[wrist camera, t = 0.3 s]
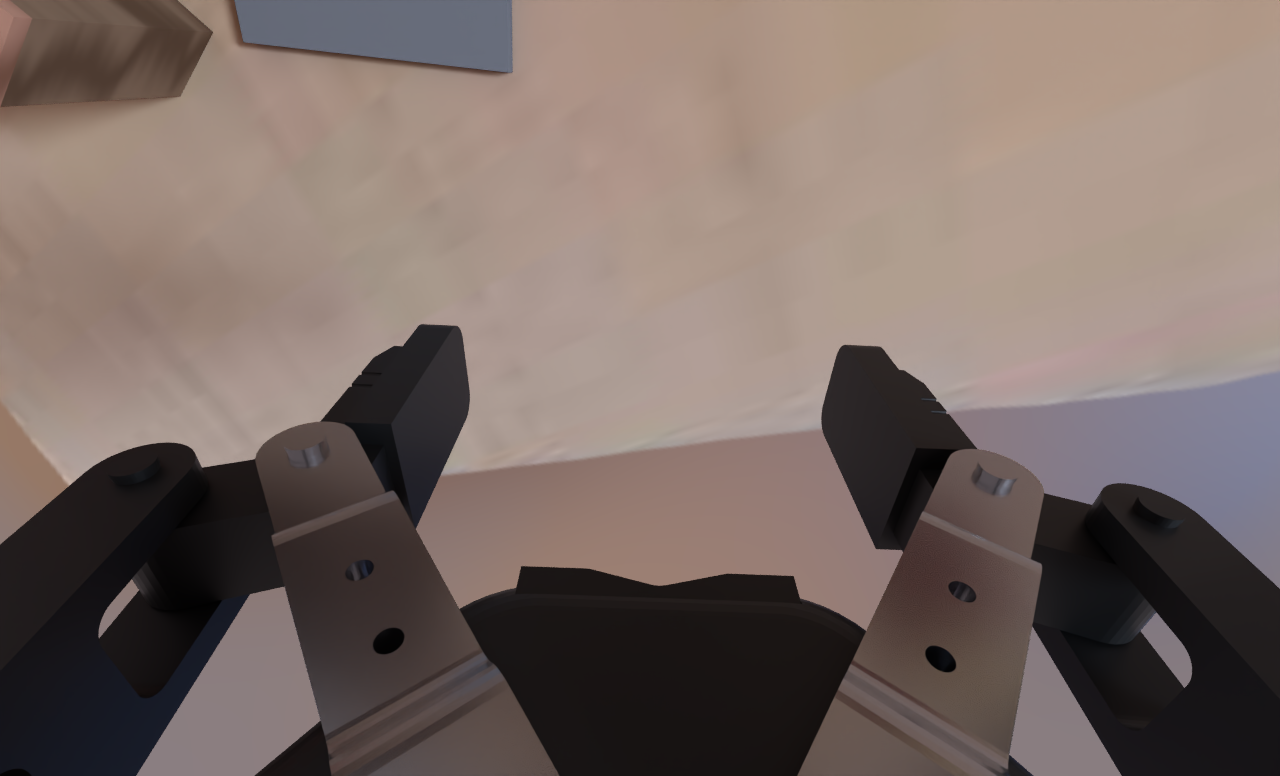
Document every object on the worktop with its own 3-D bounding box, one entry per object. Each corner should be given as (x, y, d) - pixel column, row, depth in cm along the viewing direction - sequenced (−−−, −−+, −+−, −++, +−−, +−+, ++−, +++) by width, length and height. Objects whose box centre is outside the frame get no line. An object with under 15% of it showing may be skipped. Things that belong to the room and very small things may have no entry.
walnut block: (132, -40, 33) (-119, -90, 22) (213, 32, 34) (13, 17, 24) (102, 30, 35) (-143, 15, 24) (180, 96, 36) (-18, 107, 26)
